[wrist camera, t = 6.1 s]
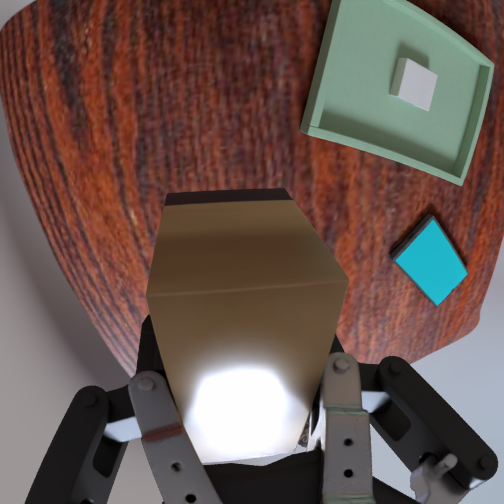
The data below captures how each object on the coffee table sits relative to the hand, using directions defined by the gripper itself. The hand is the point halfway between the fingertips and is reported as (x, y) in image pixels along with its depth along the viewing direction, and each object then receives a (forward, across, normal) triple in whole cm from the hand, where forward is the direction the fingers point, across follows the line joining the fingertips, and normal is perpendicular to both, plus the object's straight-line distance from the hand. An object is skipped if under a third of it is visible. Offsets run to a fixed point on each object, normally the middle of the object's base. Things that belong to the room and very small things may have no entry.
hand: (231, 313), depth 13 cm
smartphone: (+16, -28, +10) cm, 34 cm away
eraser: (+1, 0, 0) cm, 1 cm away
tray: (+16, -18, -11) cm, 27 cm away
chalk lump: (+16, -18, -11) cm, 26 cm away
